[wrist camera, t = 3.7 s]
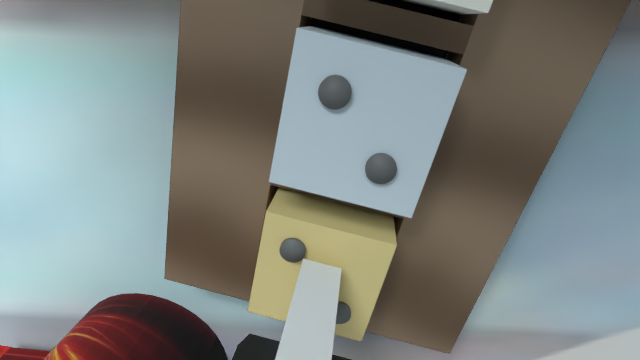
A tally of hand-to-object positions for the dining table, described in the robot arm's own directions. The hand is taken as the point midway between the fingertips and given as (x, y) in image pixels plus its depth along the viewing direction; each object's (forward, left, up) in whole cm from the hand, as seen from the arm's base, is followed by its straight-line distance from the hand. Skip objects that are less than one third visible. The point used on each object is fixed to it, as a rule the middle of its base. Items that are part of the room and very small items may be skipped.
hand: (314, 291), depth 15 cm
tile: (0, 0, -4) cm, 4 cm away
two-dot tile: (-7, 0, -3) cm, 8 cm away
